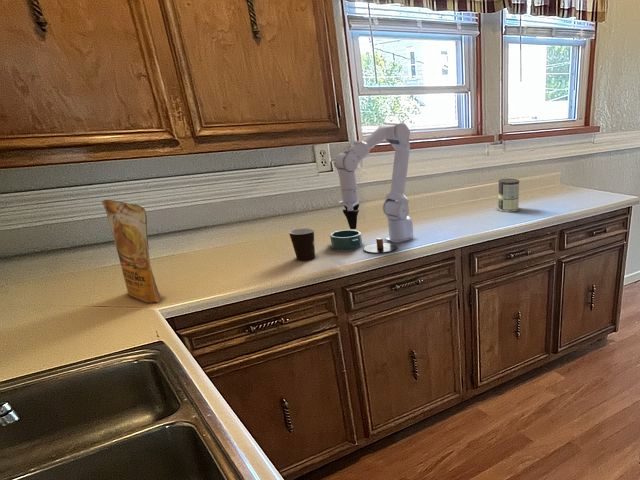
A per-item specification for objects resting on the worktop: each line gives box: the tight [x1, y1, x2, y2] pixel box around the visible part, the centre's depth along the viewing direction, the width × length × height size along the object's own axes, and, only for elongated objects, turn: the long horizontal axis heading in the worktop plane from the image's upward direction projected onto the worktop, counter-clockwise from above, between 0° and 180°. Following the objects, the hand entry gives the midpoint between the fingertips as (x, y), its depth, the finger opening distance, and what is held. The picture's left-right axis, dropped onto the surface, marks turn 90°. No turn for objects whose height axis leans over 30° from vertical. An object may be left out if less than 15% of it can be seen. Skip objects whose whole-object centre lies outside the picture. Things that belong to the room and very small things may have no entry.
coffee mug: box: [288, 227, 316, 262], centre depth 190 cm, size 12×9×10 cm
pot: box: [329, 229, 363, 251], centre depth 202 cm, size 12×17×5 cm
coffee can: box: [497, 178, 520, 213], centre depth 257 cm, size 10×10×14 cm
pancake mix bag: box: [101, 199, 162, 304], centre depth 152 cm, size 7×19×28 cm, turn 56°
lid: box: [363, 237, 398, 255], centre depth 198 cm, size 13×13×5 cm
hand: (353, 226), depth 193 cm, fingers open, 7 cm apart
